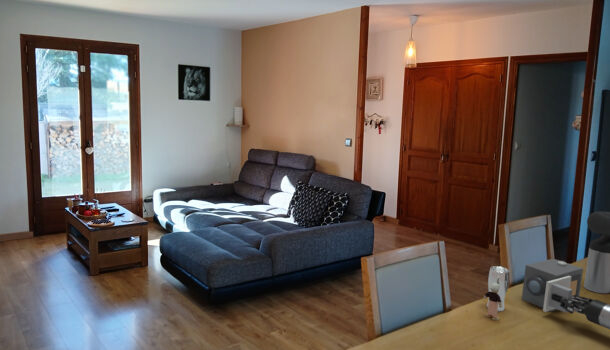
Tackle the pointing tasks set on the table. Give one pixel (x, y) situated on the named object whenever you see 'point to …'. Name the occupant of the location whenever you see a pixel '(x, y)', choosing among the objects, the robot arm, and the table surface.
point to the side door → (559, 288)
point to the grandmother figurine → (493, 301)
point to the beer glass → (499, 282)
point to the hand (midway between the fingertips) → (554, 295)
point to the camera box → (548, 279)
